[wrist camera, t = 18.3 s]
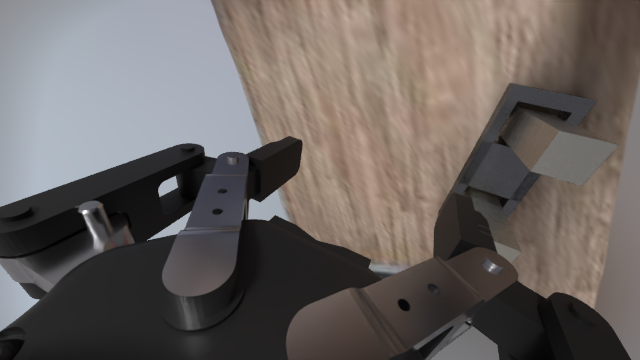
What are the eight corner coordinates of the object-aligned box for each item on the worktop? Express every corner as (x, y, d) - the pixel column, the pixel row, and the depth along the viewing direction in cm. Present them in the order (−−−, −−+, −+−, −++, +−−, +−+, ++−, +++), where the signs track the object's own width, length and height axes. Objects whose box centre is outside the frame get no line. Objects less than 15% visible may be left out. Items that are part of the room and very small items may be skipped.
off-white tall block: (469, 185, 41) (481, 236, 29) (496, 194, 40) (521, 252, 28) (457, 204, 43) (464, 259, 31) (482, 213, 42) (500, 274, 30)
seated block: (516, 106, 34) (559, 130, 22) (551, 114, 33) (618, 144, 20) (499, 134, 36) (530, 171, 24) (531, 143, 35) (581, 185, 23)
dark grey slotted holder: (509, 82, 33) (514, 84, 31) (586, 97, 30) (596, 100, 28) (438, 211, 45) (438, 218, 43) (489, 230, 43) (491, 238, 41)
